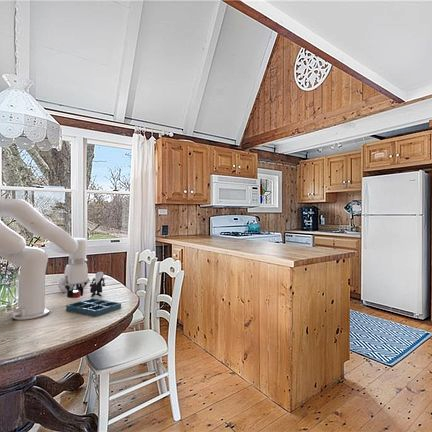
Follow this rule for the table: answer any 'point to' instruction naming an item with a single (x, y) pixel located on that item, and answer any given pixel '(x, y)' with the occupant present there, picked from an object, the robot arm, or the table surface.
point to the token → (76, 293)
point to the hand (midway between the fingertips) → (75, 296)
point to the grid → (93, 307)
